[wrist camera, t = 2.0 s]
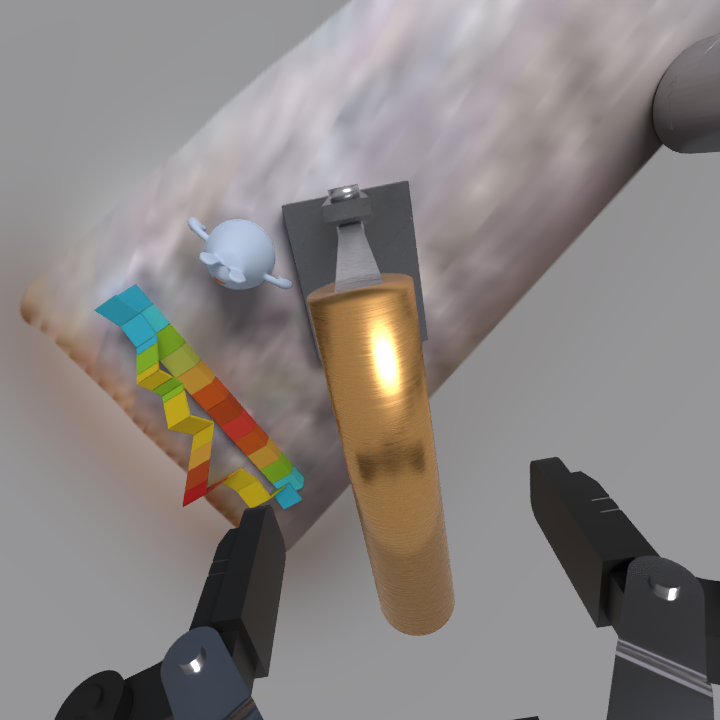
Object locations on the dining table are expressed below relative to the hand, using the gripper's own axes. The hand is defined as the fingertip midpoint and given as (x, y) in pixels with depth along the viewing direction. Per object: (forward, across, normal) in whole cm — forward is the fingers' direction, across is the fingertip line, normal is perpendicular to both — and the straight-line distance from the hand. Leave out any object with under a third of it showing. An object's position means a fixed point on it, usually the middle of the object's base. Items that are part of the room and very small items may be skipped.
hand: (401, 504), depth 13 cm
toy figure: (+34, +10, -5) cm, 36 cm away
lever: (+20, 0, 0) cm, 20 cm away
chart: (+34, +19, +12) cm, 41 cm away
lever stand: (+34, 0, 0) cm, 34 cm away
